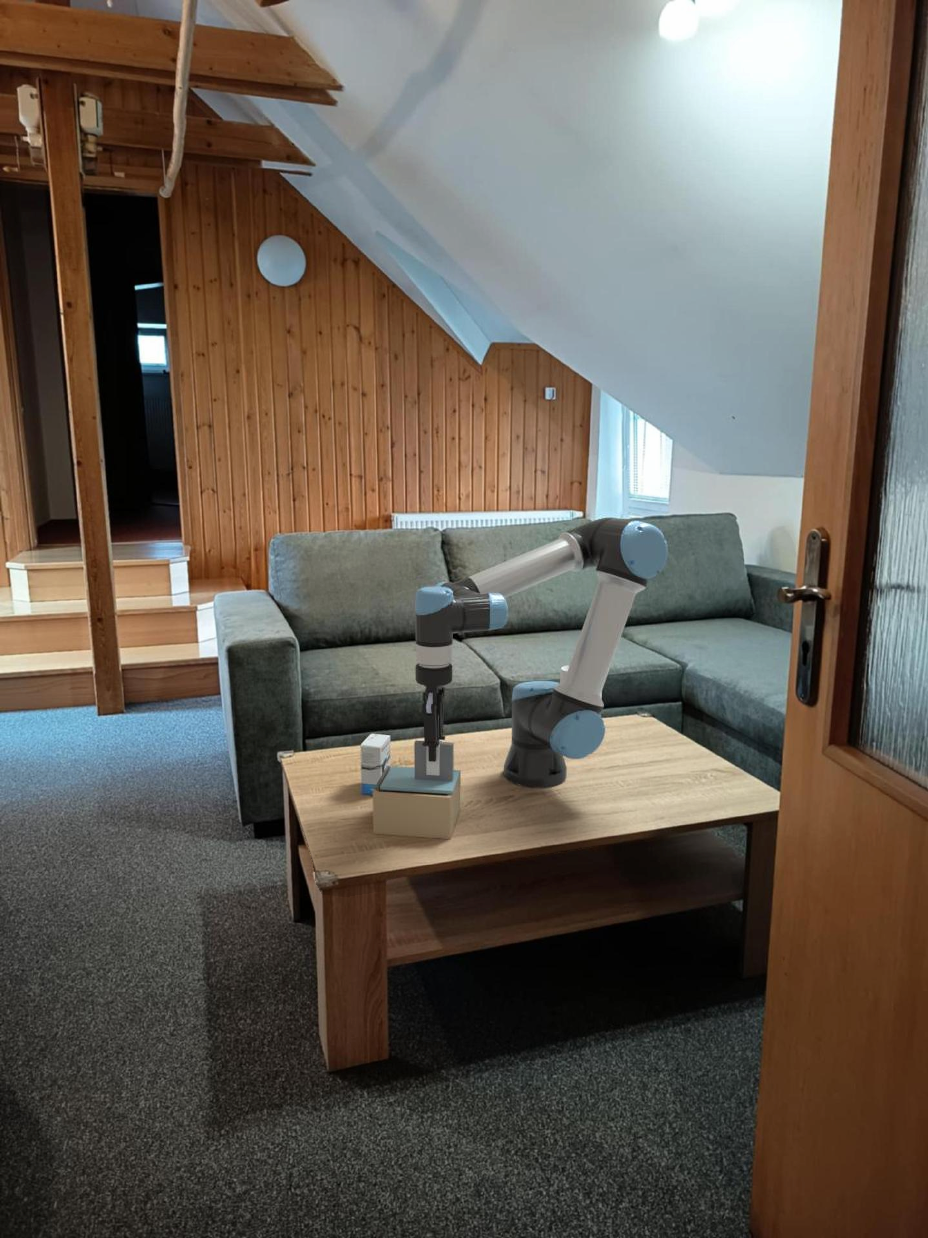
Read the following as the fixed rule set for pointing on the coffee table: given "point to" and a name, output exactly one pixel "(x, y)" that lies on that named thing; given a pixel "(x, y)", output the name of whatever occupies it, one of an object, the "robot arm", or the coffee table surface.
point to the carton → (416, 813)
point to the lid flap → (423, 773)
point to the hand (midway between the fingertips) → (434, 772)
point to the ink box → (374, 760)
